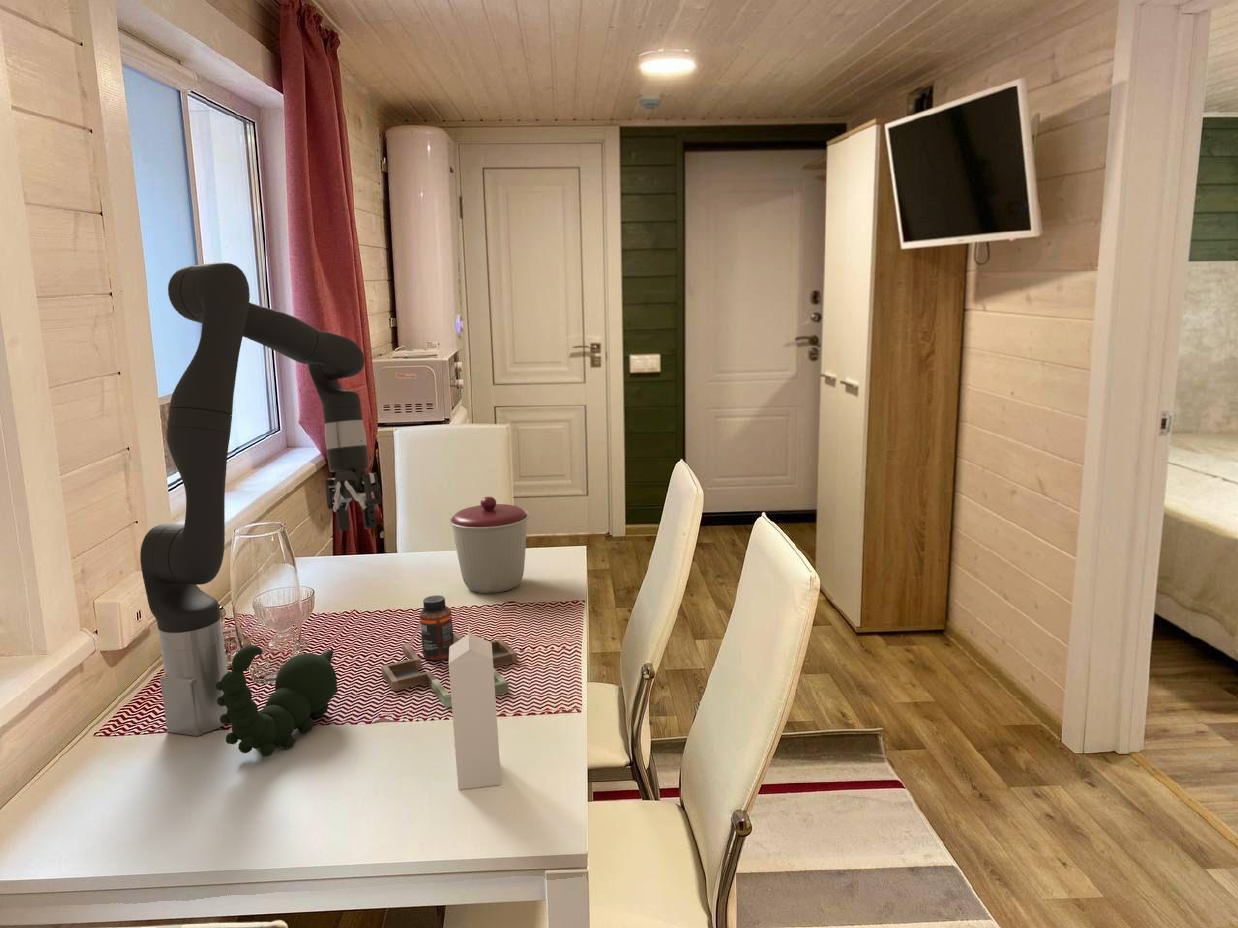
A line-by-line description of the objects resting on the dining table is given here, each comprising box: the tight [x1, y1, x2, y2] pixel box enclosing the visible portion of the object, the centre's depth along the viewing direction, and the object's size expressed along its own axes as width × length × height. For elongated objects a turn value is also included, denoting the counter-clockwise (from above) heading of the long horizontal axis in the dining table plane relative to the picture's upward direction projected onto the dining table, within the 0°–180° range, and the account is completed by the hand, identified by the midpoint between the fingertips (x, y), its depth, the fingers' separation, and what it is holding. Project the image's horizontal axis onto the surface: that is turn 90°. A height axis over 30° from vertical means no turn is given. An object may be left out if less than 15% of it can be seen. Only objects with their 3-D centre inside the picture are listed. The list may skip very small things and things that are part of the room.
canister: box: [448, 496, 531, 594], centre depth 212 cm, size 18×18×21 cm
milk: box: [448, 624, 502, 791], centre depth 131 cm, size 6×6×22 cm
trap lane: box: [380, 631, 518, 709], centre depth 169 cm, size 27×23×2 cm
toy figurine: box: [215, 644, 339, 757], centre depth 146 cm, size 9×19×25 cm
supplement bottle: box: [419, 595, 454, 662], centre depth 175 cm, size 6×6×11 cm
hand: (357, 529), depth 179 cm, fingers open, 8 cm apart
